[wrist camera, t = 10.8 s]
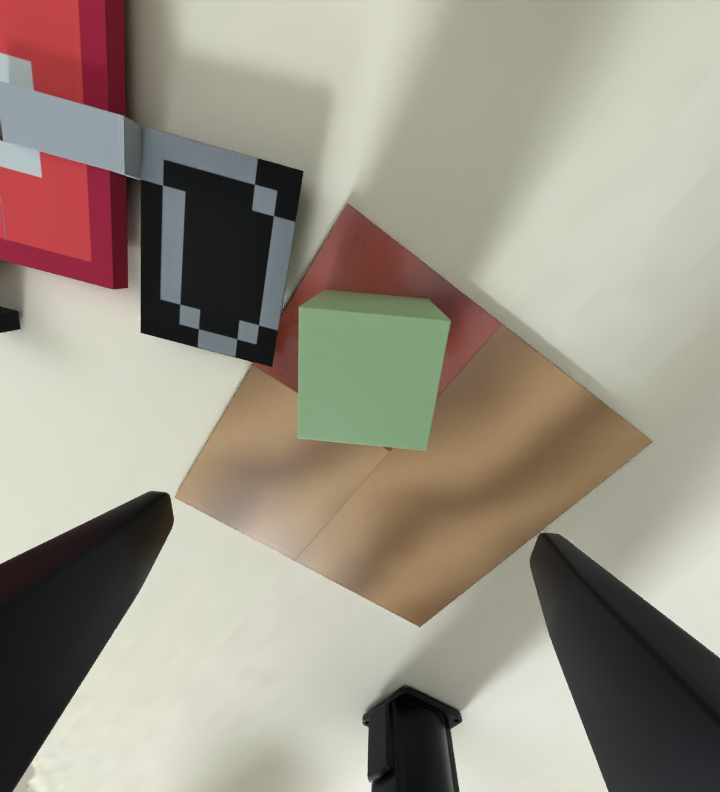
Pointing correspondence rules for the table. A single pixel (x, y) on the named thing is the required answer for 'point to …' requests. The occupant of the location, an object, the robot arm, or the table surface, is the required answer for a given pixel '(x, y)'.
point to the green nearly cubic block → (369, 368)
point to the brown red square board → (405, 468)
